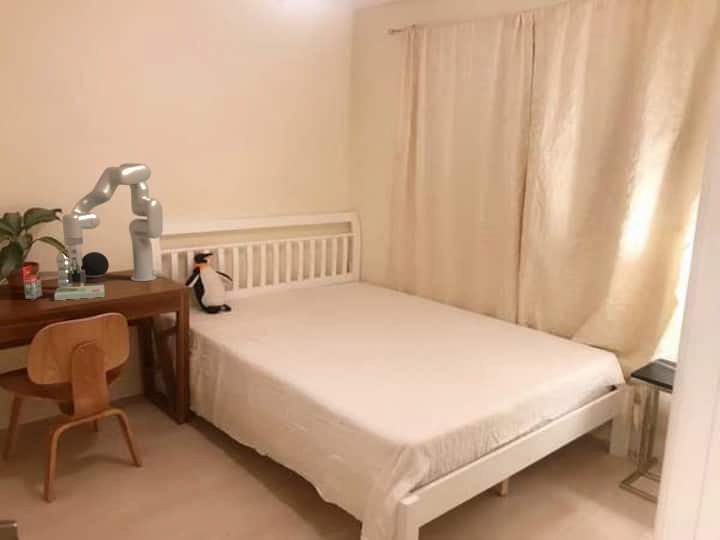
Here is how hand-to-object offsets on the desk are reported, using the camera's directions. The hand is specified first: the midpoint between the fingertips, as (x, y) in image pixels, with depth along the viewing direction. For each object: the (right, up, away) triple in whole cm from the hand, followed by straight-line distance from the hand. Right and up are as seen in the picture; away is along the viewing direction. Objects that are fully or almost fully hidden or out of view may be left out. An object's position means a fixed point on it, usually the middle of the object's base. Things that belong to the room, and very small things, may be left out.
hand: (76, 280), depth 257 cm
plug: (0, -3, +1) cm, 3 cm away
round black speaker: (-6, -1, +30) cm, 31 cm away
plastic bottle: (-12, -5, +13) cm, 19 cm away
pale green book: (+1, -7, +2) cm, 7 cm away
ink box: (-17, -8, -4) cm, 20 cm away
